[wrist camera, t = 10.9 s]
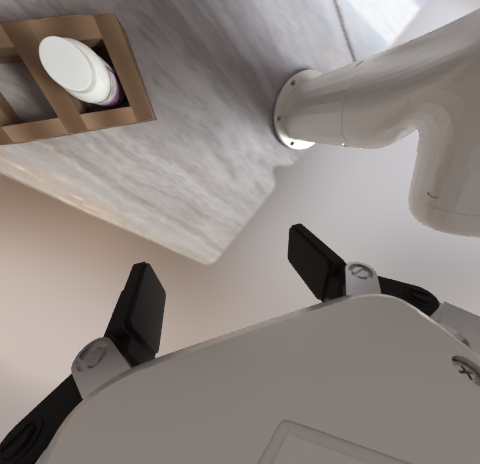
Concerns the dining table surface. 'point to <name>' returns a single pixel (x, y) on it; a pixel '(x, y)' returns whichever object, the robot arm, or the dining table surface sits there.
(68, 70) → the pill bottle
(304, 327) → the robot arm
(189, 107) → the dining table surface
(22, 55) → the socket block
